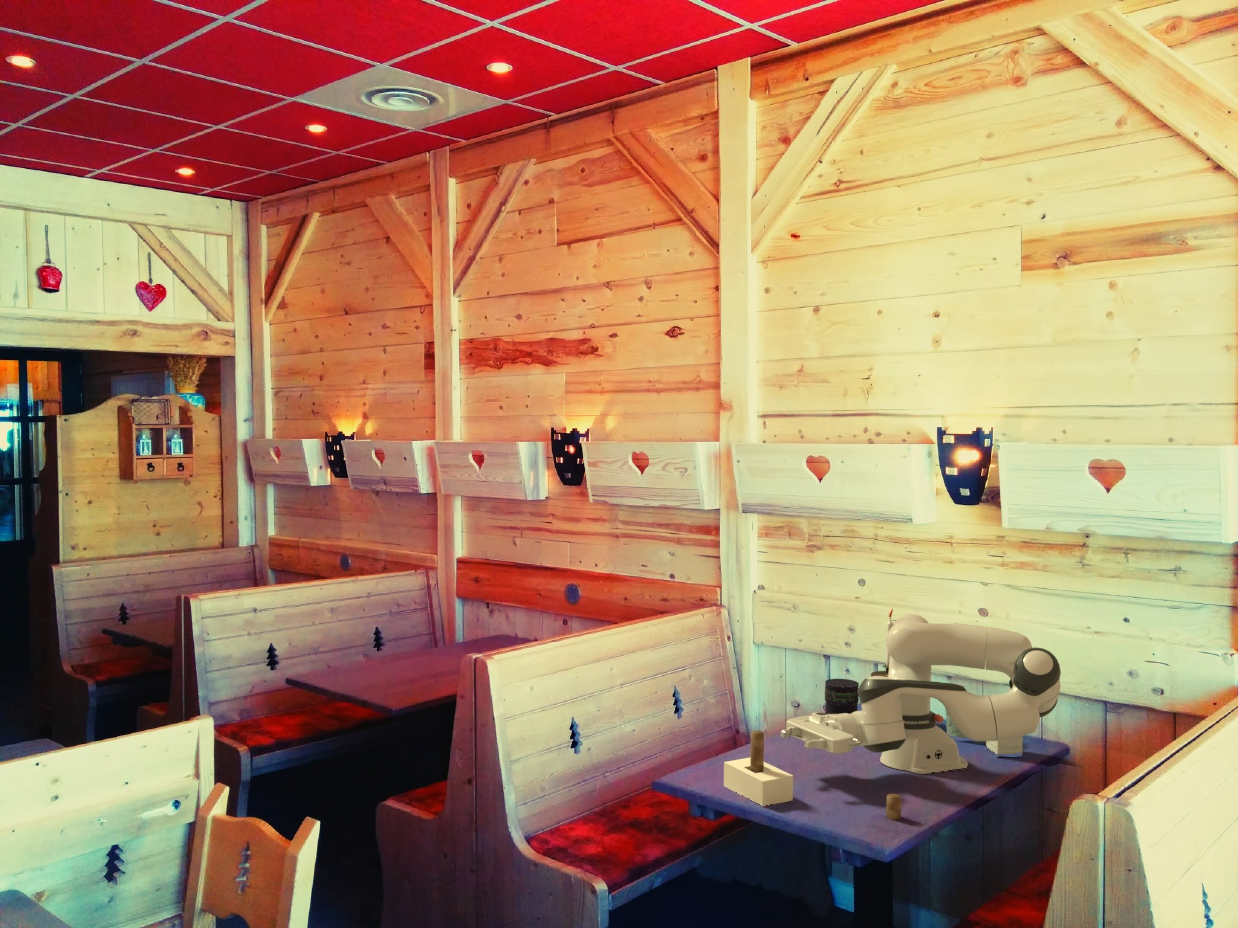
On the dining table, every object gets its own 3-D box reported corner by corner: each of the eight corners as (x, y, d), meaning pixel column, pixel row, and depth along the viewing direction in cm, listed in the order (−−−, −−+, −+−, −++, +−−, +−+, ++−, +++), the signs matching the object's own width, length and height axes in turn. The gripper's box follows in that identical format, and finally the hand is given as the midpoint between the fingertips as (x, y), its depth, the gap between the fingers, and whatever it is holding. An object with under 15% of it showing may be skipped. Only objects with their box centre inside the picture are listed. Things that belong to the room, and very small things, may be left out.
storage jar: (821, 727, 309) (821, 678, 309) (854, 728, 309) (854, 678, 309) (827, 737, 299) (828, 686, 299) (861, 738, 299) (862, 686, 299)
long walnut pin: (764, 791, 255) (764, 731, 254) (762, 795, 251) (763, 734, 251) (751, 790, 255) (751, 729, 255) (749, 794, 252) (749, 733, 252)
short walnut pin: (897, 814, 240) (897, 793, 240) (903, 819, 237) (903, 798, 237) (884, 815, 240) (884, 793, 239) (889, 820, 236) (890, 798, 236)
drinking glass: (984, 736, 302) (985, 695, 301) (975, 745, 293) (975, 703, 293) (949, 730, 307) (950, 690, 307) (939, 739, 299) (939, 697, 299)
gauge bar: (753, 780, 263) (753, 756, 263) (792, 800, 249) (793, 775, 249) (723, 785, 258) (723, 761, 258) (762, 806, 244) (762, 781, 244)
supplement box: (1023, 757, 283) (1024, 711, 282) (996, 757, 282) (997, 711, 282) (1010, 749, 290) (1011, 704, 290) (985, 749, 290) (986, 704, 289)
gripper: (864, 755, 256) (820, 763, 250) (812, 733, 274) (769, 740, 267) (865, 730, 256) (821, 737, 249) (812, 710, 274) (769, 716, 267)
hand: (794, 739), depth 259 cm, fingers open, 8 cm apart
